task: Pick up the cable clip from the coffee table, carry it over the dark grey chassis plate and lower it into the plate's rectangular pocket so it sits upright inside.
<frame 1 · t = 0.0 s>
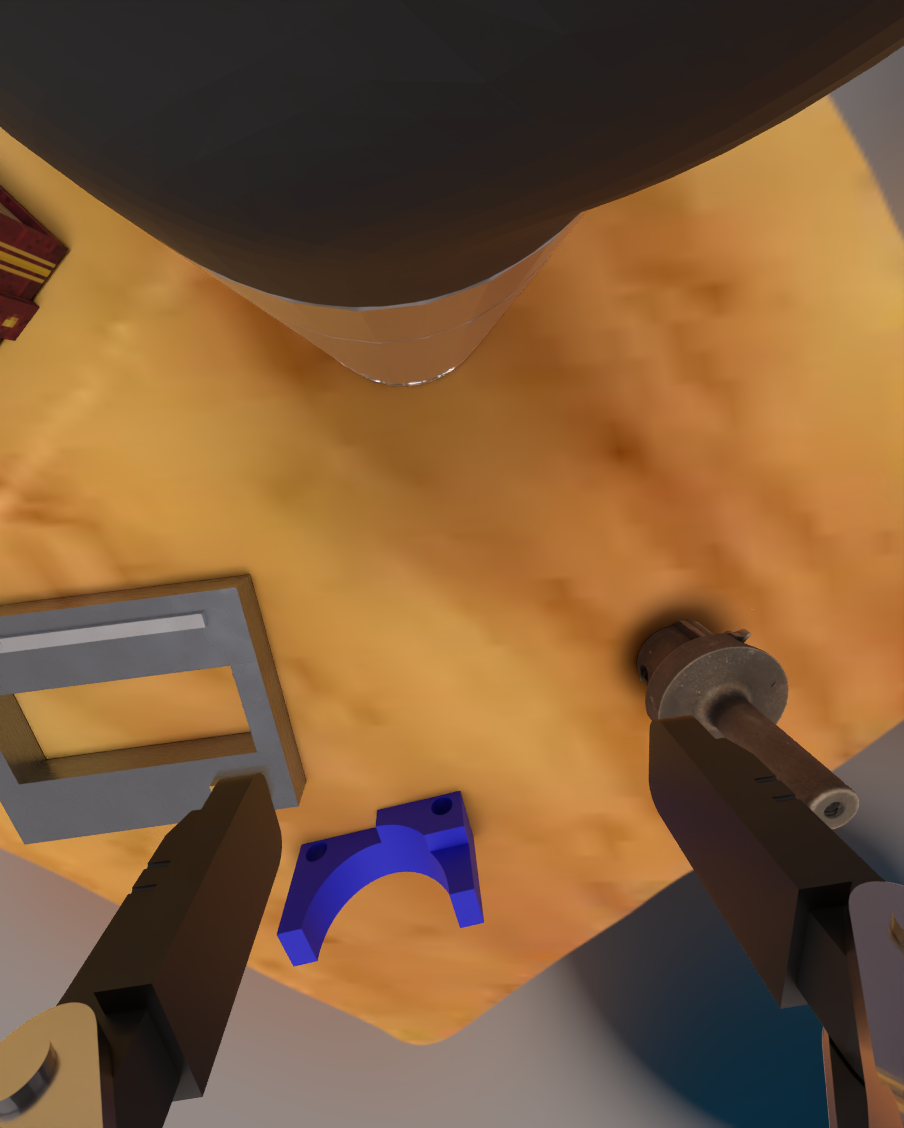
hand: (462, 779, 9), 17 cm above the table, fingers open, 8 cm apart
chassis: (142, 705, 27), on the table
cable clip: (386, 828, 32), on the table
industrial component: (678, 646, 29), on the table
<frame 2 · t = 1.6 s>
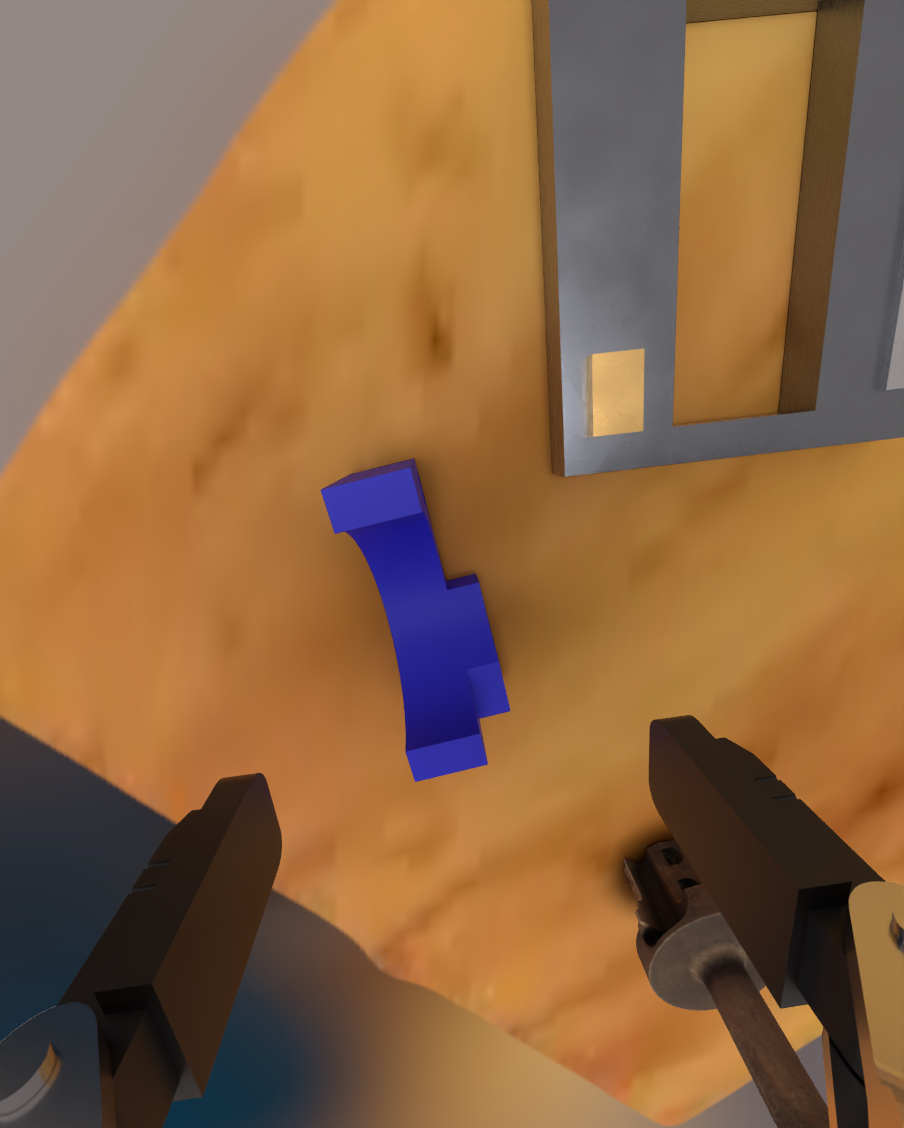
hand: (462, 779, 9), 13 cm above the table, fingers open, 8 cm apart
chassis: (724, 241, 18), on the table
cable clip: (430, 582, 22), on the table
industrial component: (671, 869, 28), on the table
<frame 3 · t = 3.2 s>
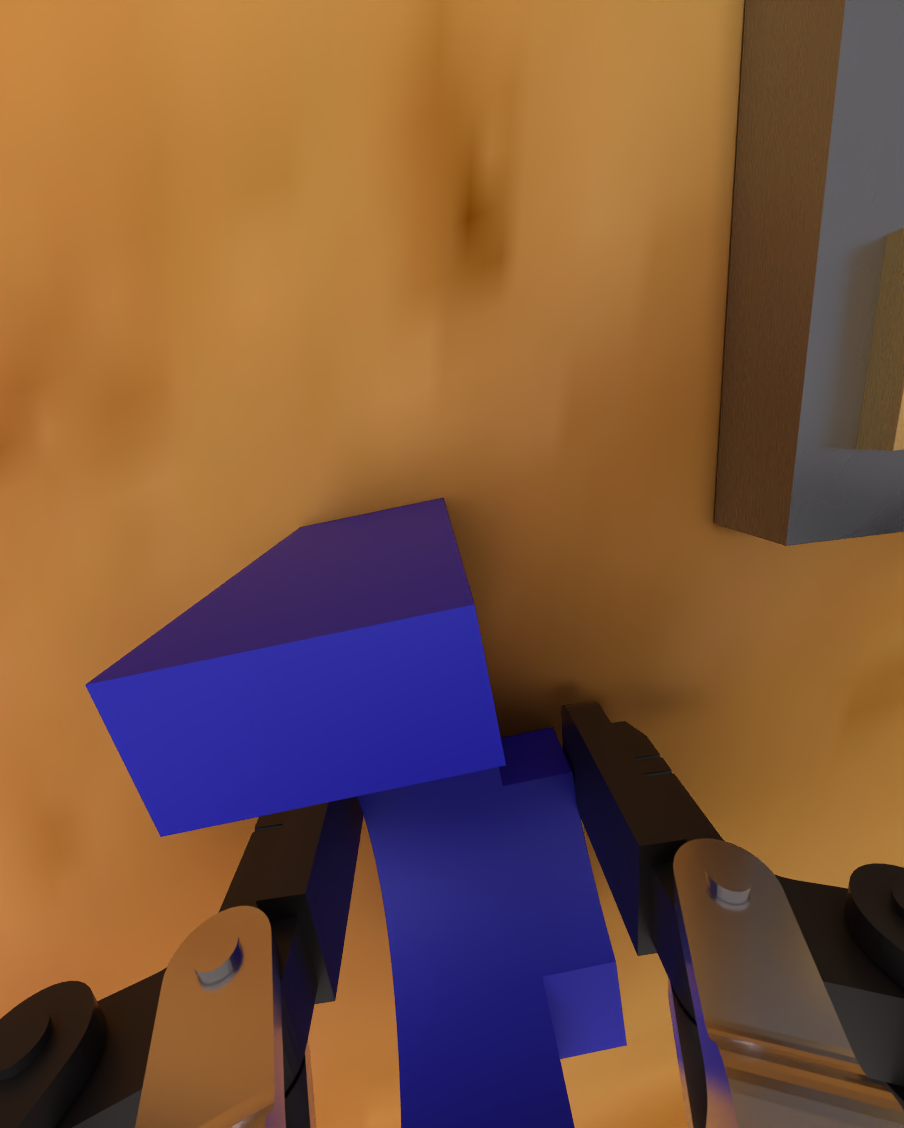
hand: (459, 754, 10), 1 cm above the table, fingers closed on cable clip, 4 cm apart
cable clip: (461, 740, 11), on the table, touching gripper
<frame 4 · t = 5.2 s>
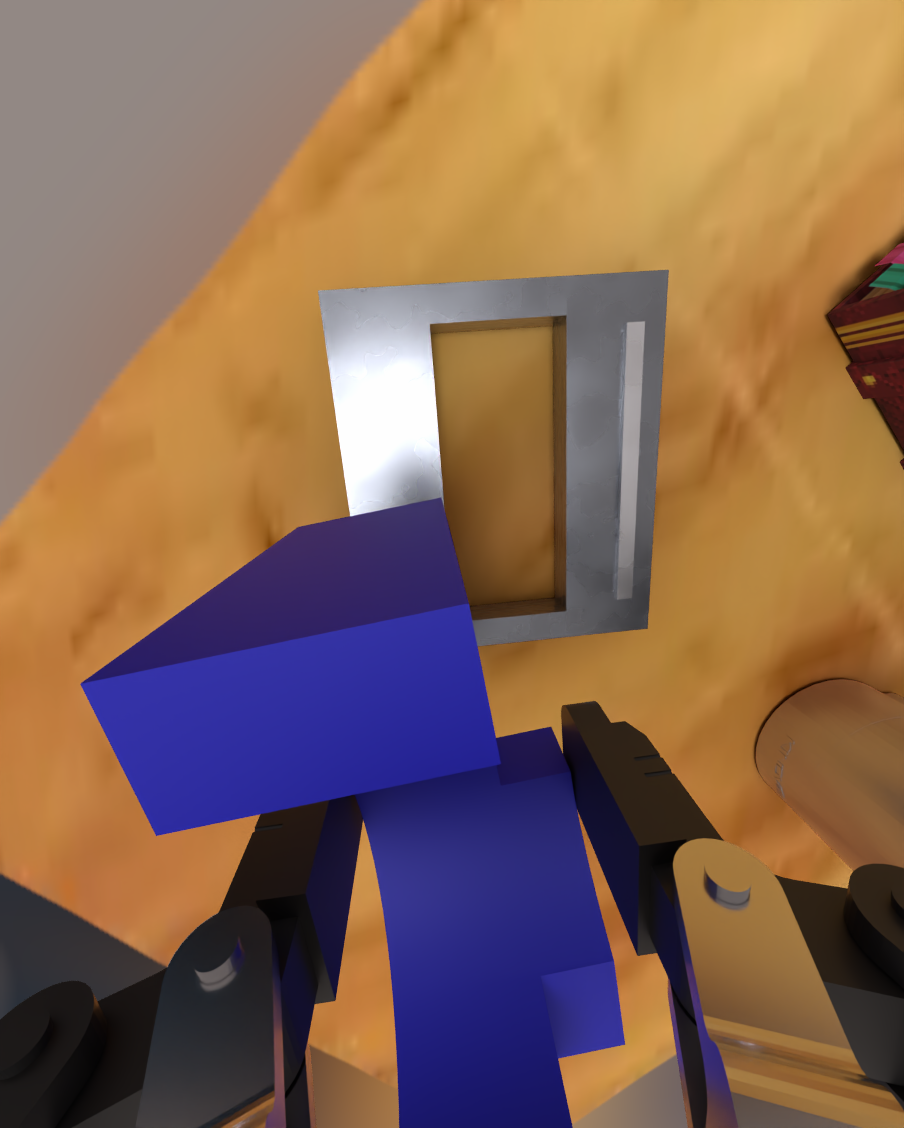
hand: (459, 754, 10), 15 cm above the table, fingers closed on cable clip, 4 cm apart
chassis: (497, 478, 23), on the table
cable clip: (460, 740, 11), point 14 cm above the table, touching gripper
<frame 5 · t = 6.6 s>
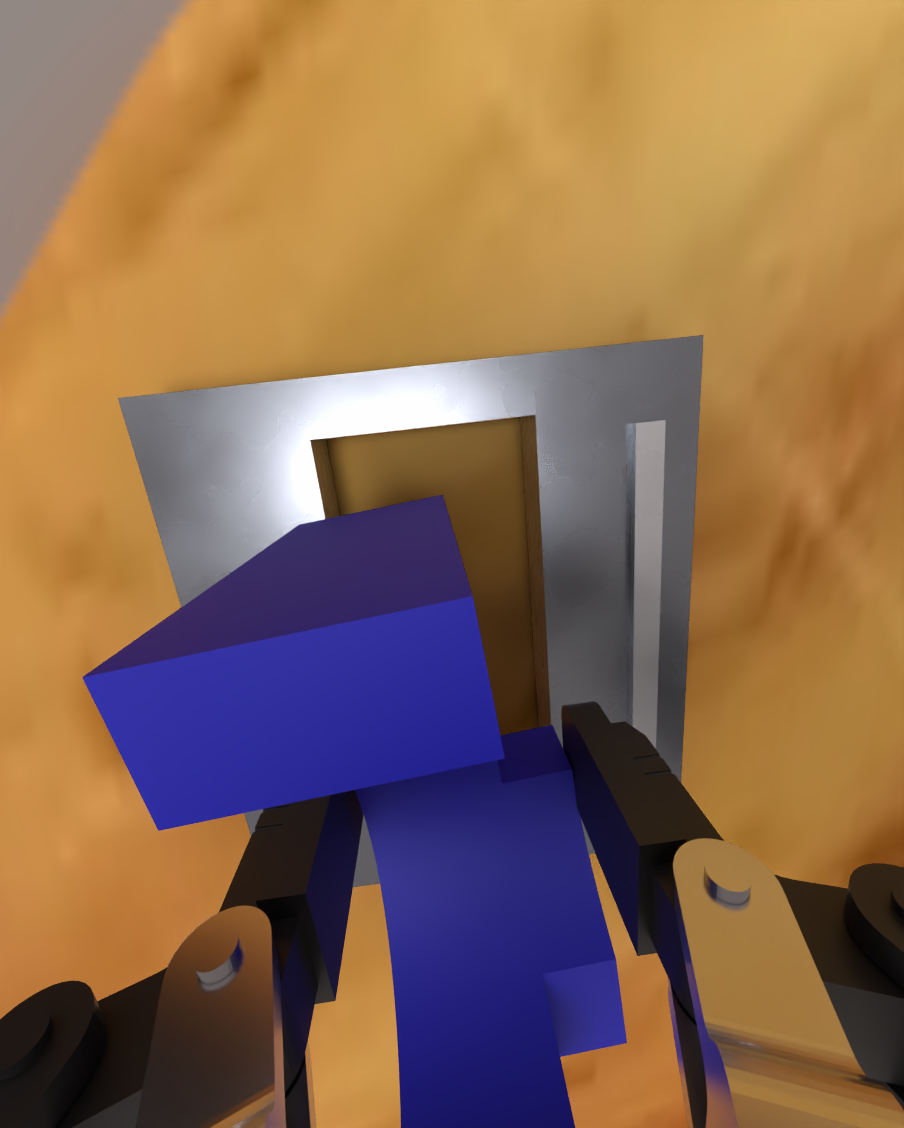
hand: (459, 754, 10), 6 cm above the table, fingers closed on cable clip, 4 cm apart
chassis: (448, 634, 16), on the table
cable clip: (461, 738, 11), point 5 cm above the table, touching gripper
when the fingers open (3 cm above the table, at t = 7.6 s): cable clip drops 2 cm, resting in chassis.
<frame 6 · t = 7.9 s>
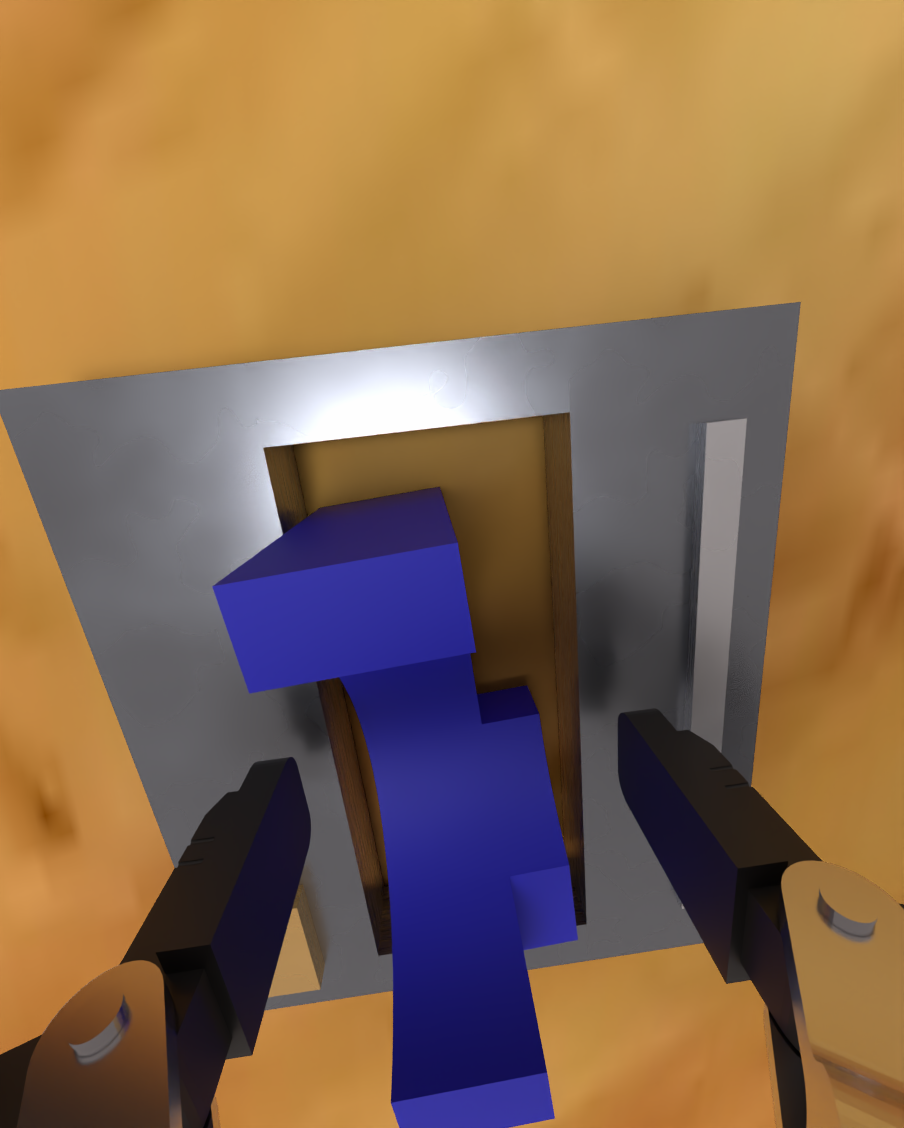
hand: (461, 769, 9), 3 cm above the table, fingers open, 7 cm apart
chassis: (451, 687, 13), on the table
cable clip: (449, 692, 13), resting in chassis
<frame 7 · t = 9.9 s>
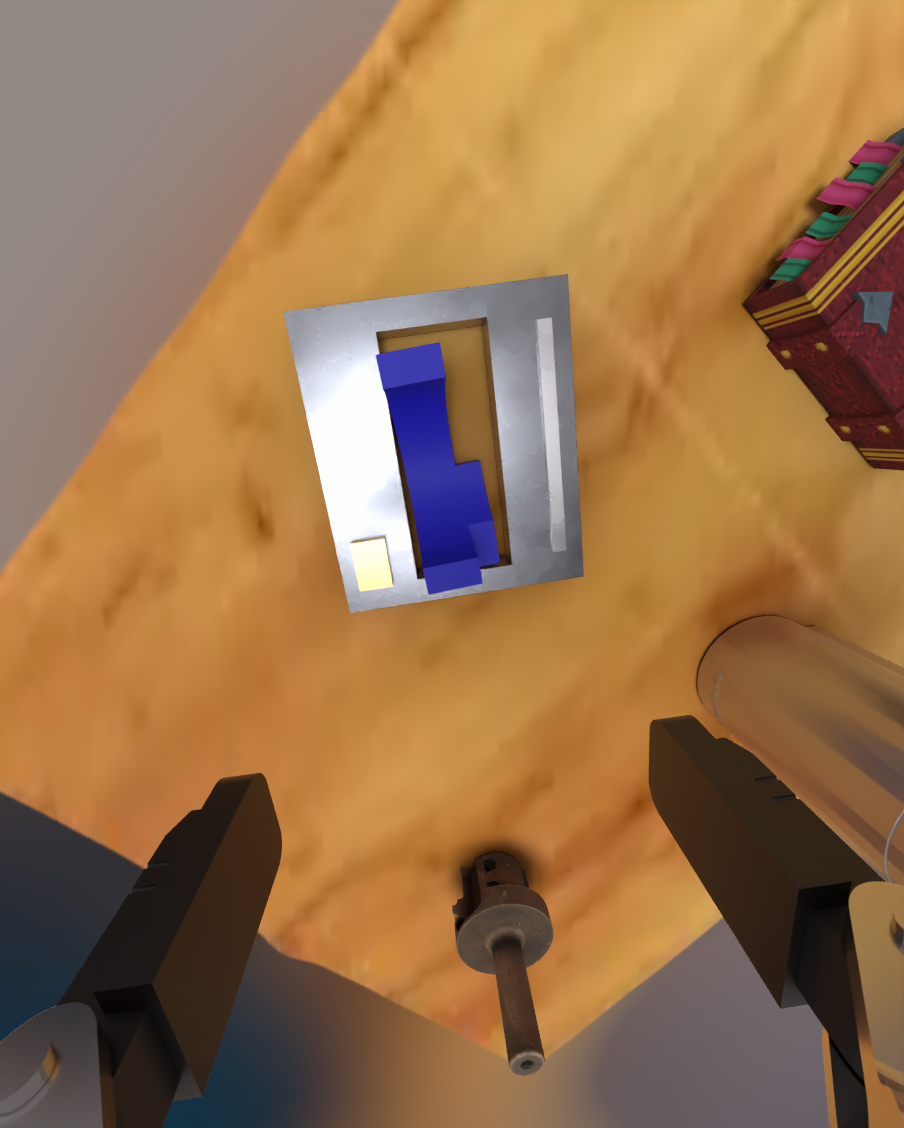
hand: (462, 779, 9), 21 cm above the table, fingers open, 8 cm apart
decorative book: (866, 316, 28), on the table
chassis: (447, 456, 28), on the table
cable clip: (441, 466, 28), resting in chassis
industrial component: (500, 873, 38), on the table
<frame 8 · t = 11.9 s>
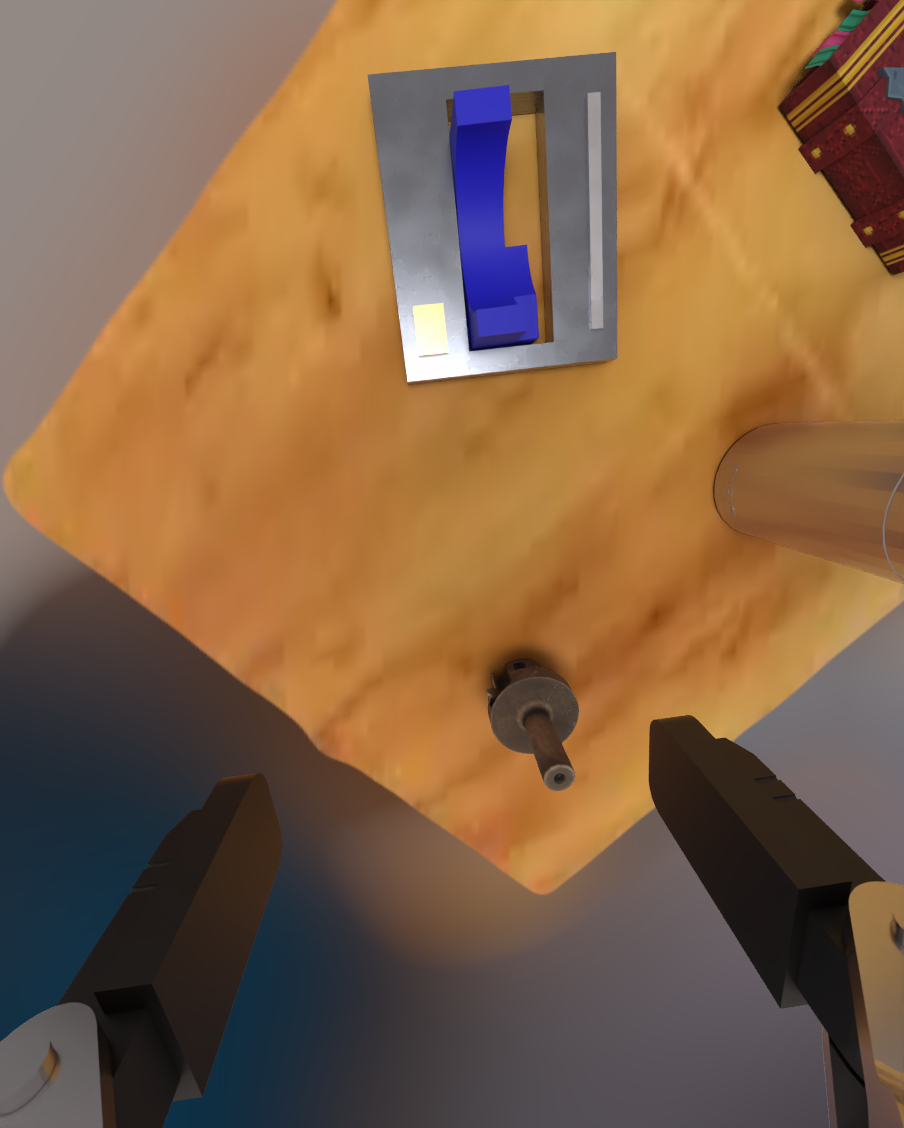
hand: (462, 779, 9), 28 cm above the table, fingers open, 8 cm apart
decorative book: (888, 125, 31), on the table
chassis: (498, 242, 31), on the table
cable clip: (490, 258, 31), resting in chassis
industrial component: (526, 684, 41), on the table
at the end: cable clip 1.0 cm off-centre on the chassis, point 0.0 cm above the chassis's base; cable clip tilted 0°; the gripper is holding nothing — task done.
